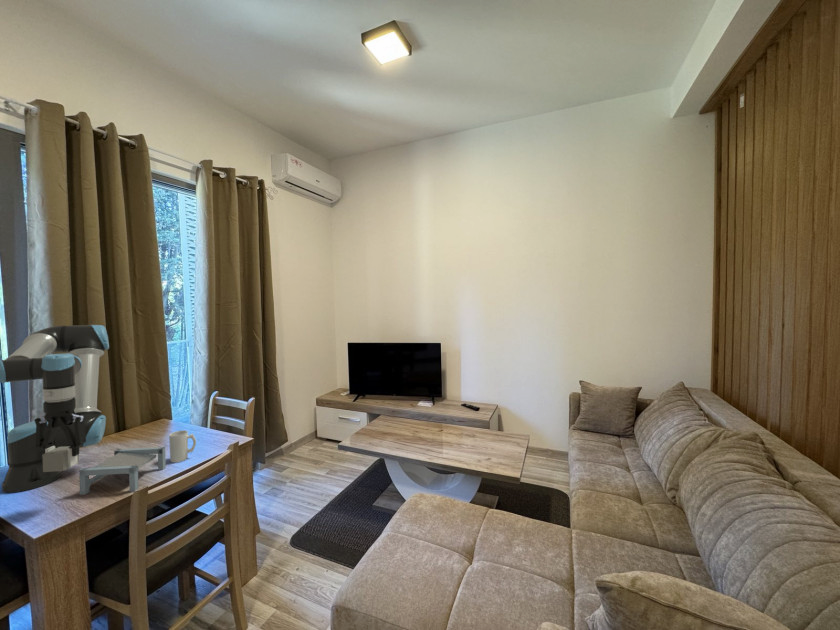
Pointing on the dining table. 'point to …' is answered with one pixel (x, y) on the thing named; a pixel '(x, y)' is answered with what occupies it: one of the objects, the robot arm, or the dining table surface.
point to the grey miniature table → (120, 469)
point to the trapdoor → (127, 460)
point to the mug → (180, 445)
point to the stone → (56, 459)
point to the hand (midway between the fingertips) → (61, 465)
